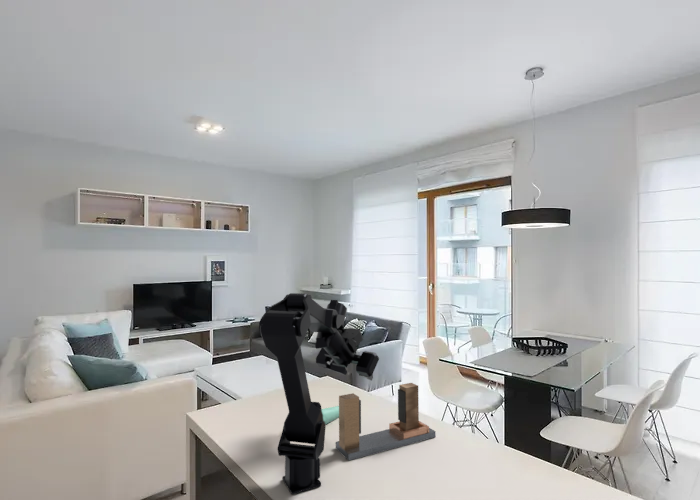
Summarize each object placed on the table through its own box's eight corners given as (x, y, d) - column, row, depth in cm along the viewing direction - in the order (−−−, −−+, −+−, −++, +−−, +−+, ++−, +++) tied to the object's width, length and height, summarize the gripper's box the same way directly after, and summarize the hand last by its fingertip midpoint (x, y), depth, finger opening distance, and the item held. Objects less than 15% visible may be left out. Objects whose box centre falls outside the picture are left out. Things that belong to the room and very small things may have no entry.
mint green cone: (365, 390, 125) (308, 416, 104) (365, 407, 125) (308, 437, 103) (351, 387, 128) (294, 412, 107) (351, 404, 128) (294, 432, 107)
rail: (348, 460, 91) (348, 402, 91) (335, 448, 97) (335, 393, 97) (435, 437, 103) (434, 385, 103) (419, 427, 109) (418, 378, 109)
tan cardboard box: (404, 435, 101) (404, 388, 101) (397, 430, 103) (397, 385, 104) (418, 431, 103) (418, 385, 103) (411, 427, 105) (411, 382, 106)
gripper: (375, 323, 103) (396, 357, 111) (322, 317, 114) (345, 348, 122) (357, 359, 96) (382, 392, 104) (303, 349, 107) (329, 379, 116)
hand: (358, 376), depth 112 cm, fingers open, 9 cm apart
